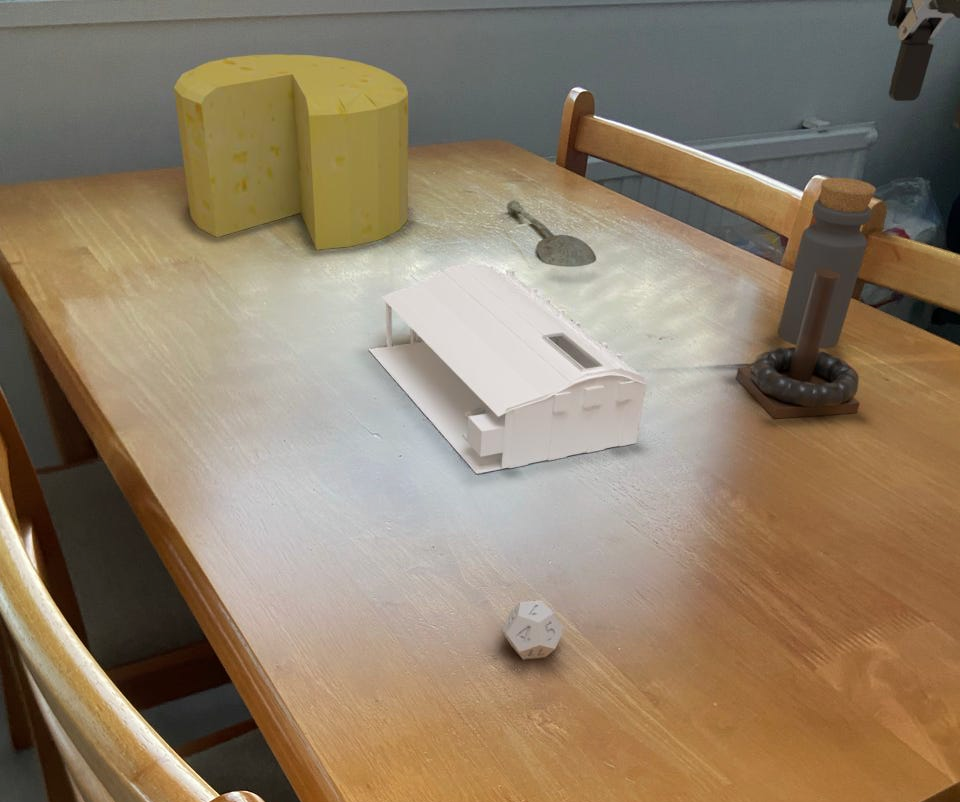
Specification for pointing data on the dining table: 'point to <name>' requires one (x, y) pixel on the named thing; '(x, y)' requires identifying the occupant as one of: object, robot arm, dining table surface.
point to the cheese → (295, 146)
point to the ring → (800, 391)
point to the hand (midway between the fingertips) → (933, 113)
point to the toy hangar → (508, 371)
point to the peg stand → (805, 354)
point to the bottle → (829, 255)
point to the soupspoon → (557, 244)
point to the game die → (532, 629)
